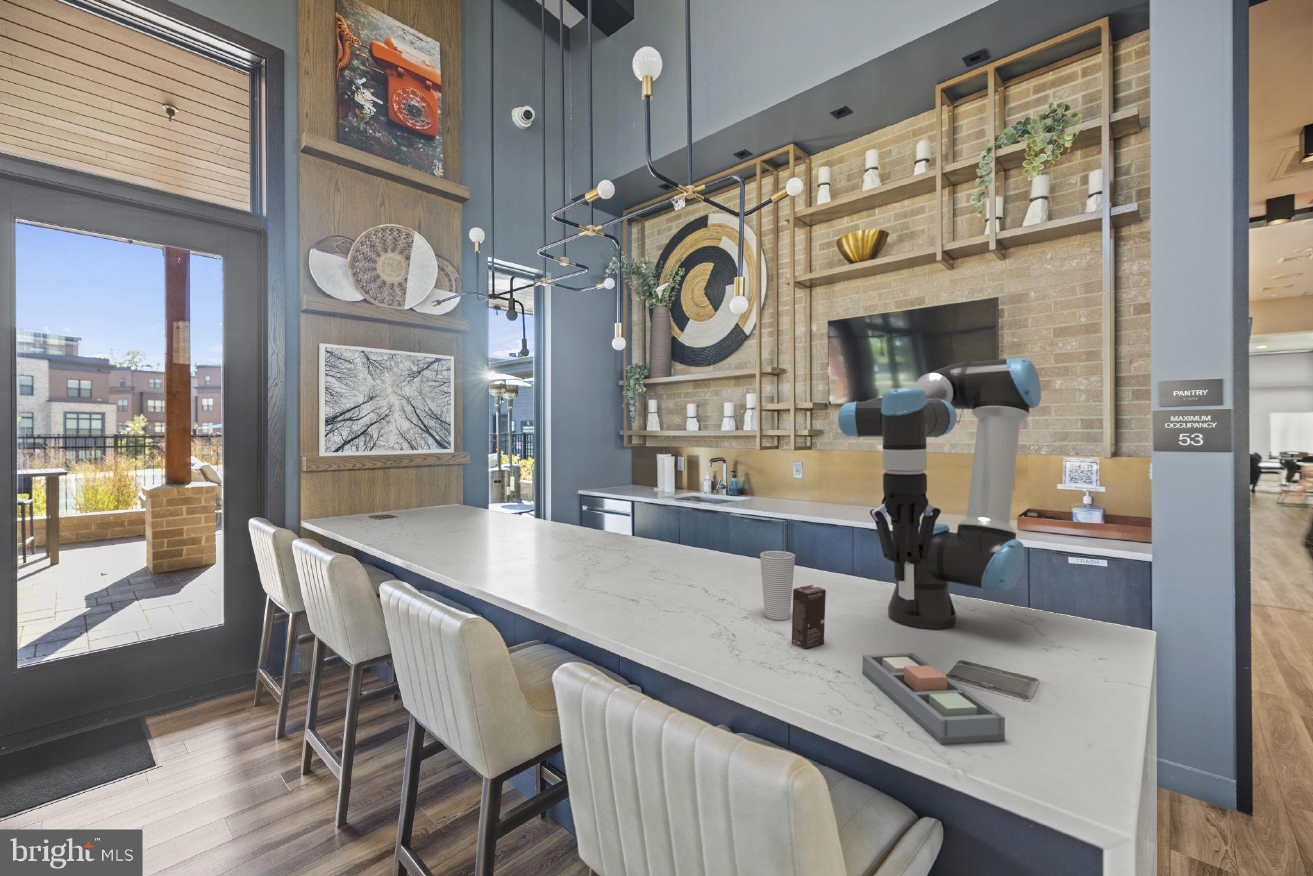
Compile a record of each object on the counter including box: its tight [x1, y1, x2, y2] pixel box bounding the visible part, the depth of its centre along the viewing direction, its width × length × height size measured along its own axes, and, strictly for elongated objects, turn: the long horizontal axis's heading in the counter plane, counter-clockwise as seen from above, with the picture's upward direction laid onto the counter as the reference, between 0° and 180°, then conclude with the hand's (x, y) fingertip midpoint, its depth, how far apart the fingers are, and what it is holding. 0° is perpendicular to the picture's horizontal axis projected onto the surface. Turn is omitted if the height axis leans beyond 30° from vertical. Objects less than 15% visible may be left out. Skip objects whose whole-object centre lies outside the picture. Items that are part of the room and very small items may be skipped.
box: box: [791, 584, 827, 649], centre depth 124 cm, size 6×4×12 cm
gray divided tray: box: [862, 652, 1006, 745], centre depth 97 cm, size 10×25×4 cm, turn 6°
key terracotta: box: [904, 664, 948, 692], centre depth 97 cm, size 5×5×2 cm
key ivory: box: [882, 657, 919, 673], centre depth 105 cm, size 5×5×2 cm
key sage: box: [929, 693, 977, 717], centre depth 90 cm, size 5×5×2 cm
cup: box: [759, 550, 796, 621], centre depth 143 cm, size 8×8×16 cm
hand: (906, 597), depth 108 cm, fingers closed
